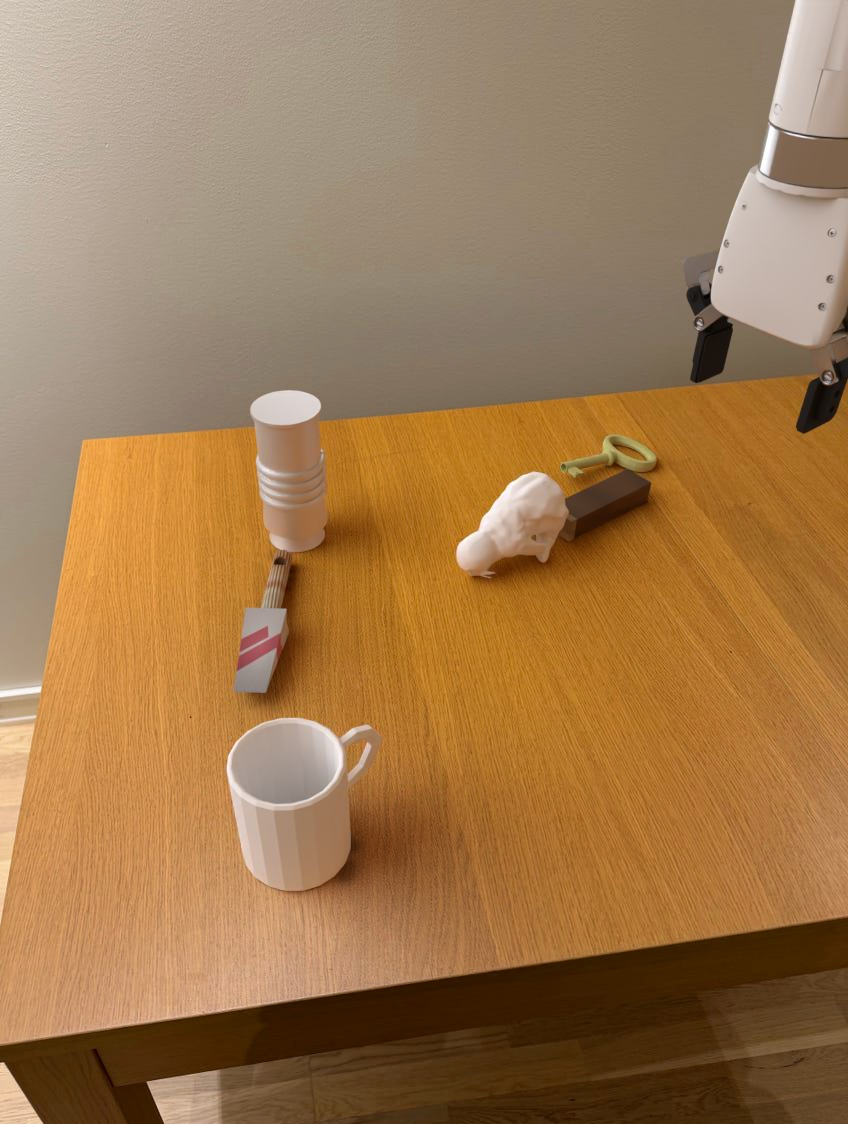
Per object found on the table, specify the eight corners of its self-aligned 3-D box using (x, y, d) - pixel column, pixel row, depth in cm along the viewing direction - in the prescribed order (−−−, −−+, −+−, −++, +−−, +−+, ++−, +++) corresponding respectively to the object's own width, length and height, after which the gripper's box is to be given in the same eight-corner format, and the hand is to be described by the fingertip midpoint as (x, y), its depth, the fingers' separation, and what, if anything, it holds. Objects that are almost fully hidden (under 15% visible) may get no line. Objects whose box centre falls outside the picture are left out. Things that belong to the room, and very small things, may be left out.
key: (554, 479, 104) (557, 463, 103) (614, 438, 111) (617, 422, 109) (609, 504, 100) (612, 487, 99) (667, 459, 107) (671, 443, 105)
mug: (413, 827, 70) (416, 741, 63) (280, 912, 65) (267, 829, 58) (351, 761, 75) (347, 675, 68) (223, 836, 69) (205, 751, 63)
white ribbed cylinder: (340, 543, 96) (334, 414, 86) (279, 562, 94) (265, 432, 84) (314, 510, 101) (305, 383, 91) (255, 527, 99) (239, 400, 89)
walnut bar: (623, 487, 103) (627, 467, 101) (648, 502, 101) (652, 481, 99) (544, 525, 98) (546, 505, 96) (568, 542, 96) (571, 521, 94)
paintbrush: (224, 678, 77) (264, 544, 93) (228, 702, 79) (267, 566, 94) (269, 680, 77) (302, 545, 92) (272, 703, 79) (304, 567, 94)
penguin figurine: (577, 482, 88) (480, 535, 84) (572, 550, 94) (481, 603, 90) (532, 454, 92) (437, 504, 88) (530, 521, 98) (441, 571, 94)
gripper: (991, 173, 54) (891, 431, 66) (750, 117, 65) (700, 347, 76) (916, 202, 51) (825, 466, 63) (676, 138, 62) (636, 374, 74)
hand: (756, 400), depth 70 cm, fingers open, 9 cm apart
